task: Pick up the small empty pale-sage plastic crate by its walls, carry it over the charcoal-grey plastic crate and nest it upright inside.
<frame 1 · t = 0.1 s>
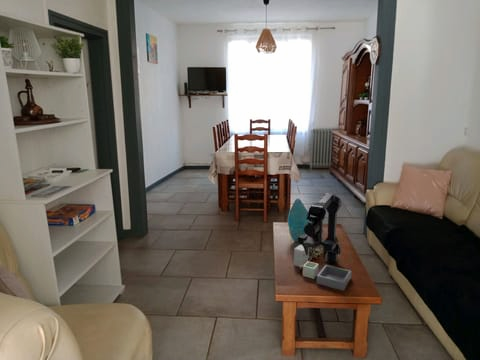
hand: (315, 257, 183), 14 cm above the table, fingers open, 9 cm apart
small box: (301, 264, 207), on the table
teal pointed ovoid: (297, 241, 237), on the table
grey crate: (333, 280, 188), on the table
sage crate: (310, 274, 195), on the table
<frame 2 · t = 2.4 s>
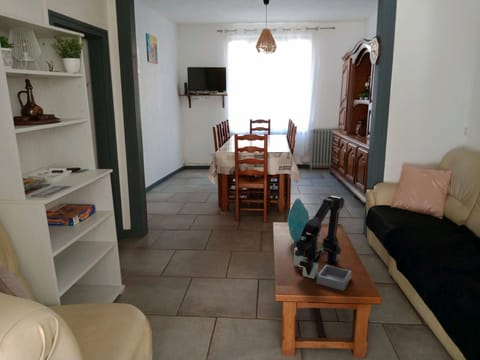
hand: (310, 272, 194), 2 cm above the table, fingers closed on sage crate, 6 cm apart
sage crate: (310, 274, 195), on the table, touching gripper
everything else where it was.
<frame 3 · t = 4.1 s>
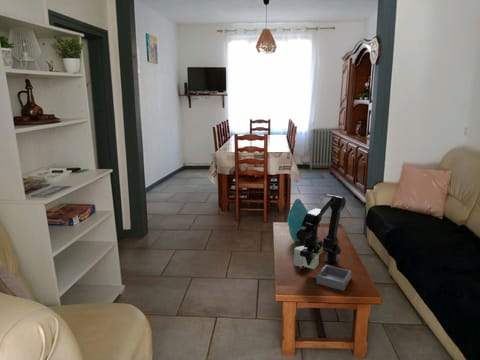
hand: (310, 262, 193), 7 cm above the table, fingers closed on sage crate, 6 cm apart
sage crate: (310, 265, 193), point 6 cm above the table, touching gripper
everything else where it was.
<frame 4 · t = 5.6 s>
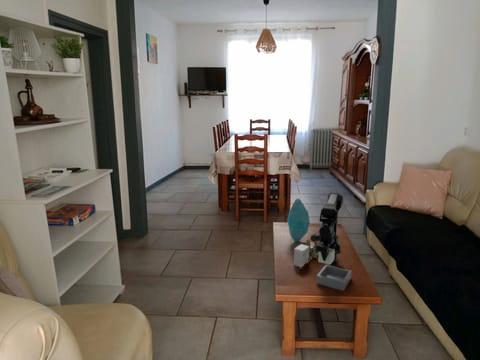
hand: (326, 258, 187), 12 cm above the table, fingers closed on sage crate, 6 cm apart
sage crate: (326, 260, 188), point 10 cm above the table, touching gripper
everything else where it was.
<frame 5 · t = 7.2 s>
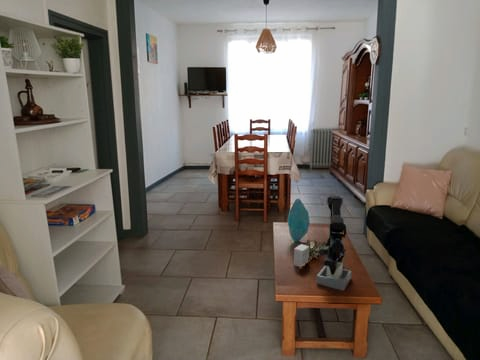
hand: (334, 271, 187), 5 cm above the table, fingers closed on sage crate, 6 cm apart
sage crate: (334, 274, 187), point 4 cm above the table, touching gripper
everything else where it was.
when the fingers open (4 cm above the table, at t = 8.7 s): sage crate drops 2 cm, resting on grey crate.
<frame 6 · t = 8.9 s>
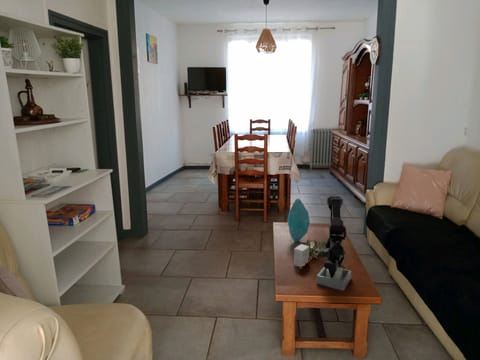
hand: (334, 274, 187), 4 cm above the table, fingers open, 8 cm apart
sage crate: (333, 279, 188), point 1 cm above the table, touching grey crate
everything else where it was.
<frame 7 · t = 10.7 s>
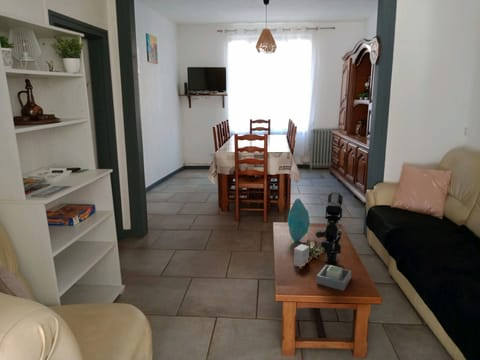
hand: (331, 253, 193), 12 cm above the table, fingers open, 9 cm apart
nothing on the table moved.
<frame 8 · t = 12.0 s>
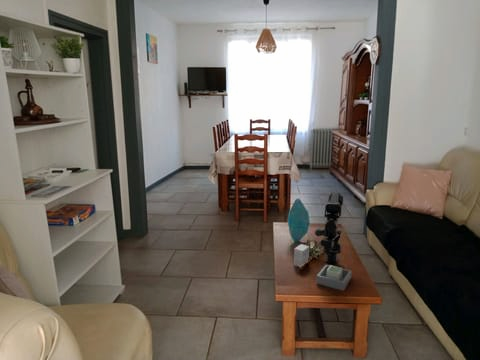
hand: (330, 252, 194), 12 cm above the table, fingers open, 9 cm apart
nothing on the table moved.
at the end: sage crate inside the target area on the grey crate (0.0 cm from its centre), point 0.8 cm above the grey crate's base; sage crate tilted 0°; the gripper is holding nothing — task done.
